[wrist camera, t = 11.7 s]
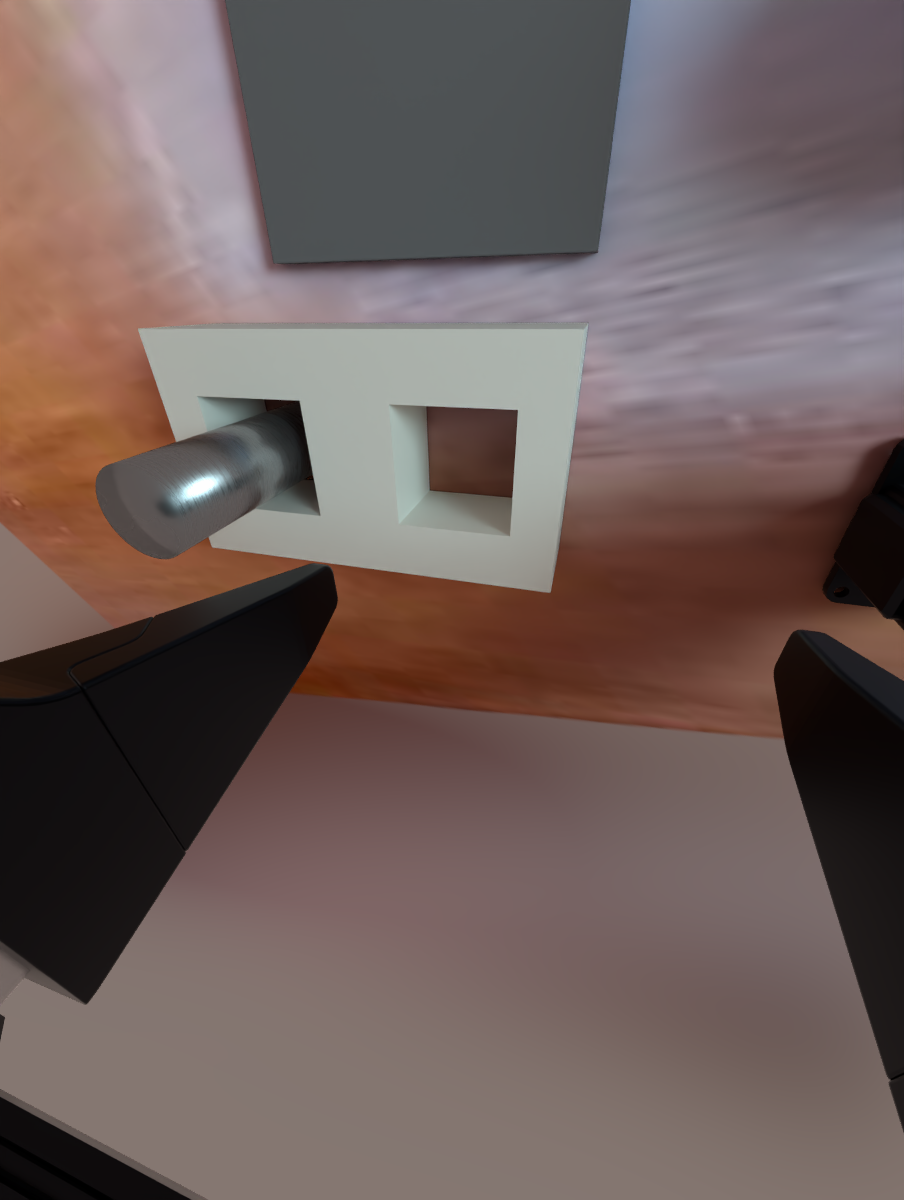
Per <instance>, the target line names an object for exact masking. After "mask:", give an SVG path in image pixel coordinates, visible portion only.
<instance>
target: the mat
mask: <svg viewBox="0 0 904 1200" xmlns="http://www.w3.org/2000/svg"><path fill="white" fill-rule="evenodd" d="M225 2H226V8H227V13H228V18H229V24H230V29H231V35H232V40H233V46H234V51H235V56H236V62H237V67H238V73H239V78H240V83H241V89H242V94H243V100H244V105H245V111H246V116H247V121H248V127H249V132H250V138H251V143H252V148H253V154H254V159H255V165H256V170H257V176H258V181H259V186H260V192H261V197H262V203H263V208H264V213H265V219H266V224H267V230H268V235H269V241H270V246H271V251H272V257H273V262H274V263H276V264H300V263H327V262H354V261H381V260H409V259H436V258H463V257H490V256H517V255H544V254H571V253H598V246H599V239H600V231H601V223H602V216H603V208H604V201H605V193H606V185H607V178H608V170H609V163H610V155H611V147H612V140H613V132H614V124H615V117H616V109H617V102H618V94H619V86H620V79H621V71H622V63H623V56H624V48H625V41H626V33H627V25H628V18H629V10H630V2H631V0H225Z"/></svg>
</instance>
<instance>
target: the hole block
mask: <svg viewBox="0 0 904 1200" xmlns="http://www.w3.org/2000/svg"><path fill="white" fill-rule="evenodd" d="M587 330H588V323H246V324H199V325H185V326H170V327H155V328H141V329H138V331H139V333H140V336H141V339H142V342H143V345H144V348H145V351H146V354H147V357H148V360H149V363H150V366H151V369H152V372H153V375H154V378H155V381H156V384H157V387H158V389H159V392H160V395H161V398H162V401H163V404H164V407H165V410H166V413H167V416H168V419H169V422H170V425H171V428H172V431H173V434H174V437H175V440H176V442H178V441H181V440H184V439H187V438H190V437H193V436H196V435H199V434H202V433H205V432H208V431H211V430H214V429H217V428H220V427H223V426H226V425H229V424H232V423H235V422H238V421H241V420H244V419H247V418H250V417H253V416H255V415H258V414H261V413H264V412H267V410H266V406H265V402H264V399H273V400H296V401H300V406H301V411H302V417H303V422H304V427H305V433H306V438H307V444H308V449H309V455H310V460H311V466H312V471H313V476H314V480H305V479H304V480H302V481H300V482H299V483H297V484H295V485H294V486H292V487H291V488H289V489H287V490H286V491H284V492H282V493H281V494H279V495H277V496H276V497H274V498H272V499H271V500H269V501H267V502H266V503H264V504H262V505H261V506H259V507H257V508H256V509H254V510H252V511H251V512H249V513H247V514H246V515H244V516H242V517H241V518H239V519H237V520H236V521H234V522H232V523H231V524H229V525H227V526H226V527H224V528H222V529H221V530H219V531H217V532H216V533H214V534H212V535H211V536H209V540H210V543H211V546H212V547H213V548H220V549H228V550H235V551H243V552H250V553H257V554H265V555H272V556H280V557H287V558H295V559H302V560H309V561H317V562H324V563H332V564H339V565H347V566H354V567H361V568H369V569H376V570H384V571H391V572H399V573H406V574H413V575H421V576H428V577H436V578H443V579H451V580H458V581H465V582H473V583H480V584H488V585H495V586H503V587H510V588H517V589H525V590H532V591H540V592H547V593H551V588H552V582H553V577H554V572H555V566H556V561H557V556H558V550H559V543H560V536H561V528H562V521H563V513H564V505H565V498H566V490H567V483H568V475H569V467H570V460H571V452H572V444H573V437H574V429H575V422H576V414H577V406H578V399H579V391H580V383H581V376H582V368H583V361H584V353H585V345H586V338H587ZM426 406H437V407H460V408H484V409H507V410H518V420H517V436H516V451H515V467H514V483H513V498H509V497H498V496H486V495H475V494H464V493H452V492H441V491H430V483H429V459H428V435H427V410H426Z"/></svg>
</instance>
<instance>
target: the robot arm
mask: <svg viewBox="0 0 904 1200" xmlns="http://www.w3.org/2000/svg"><path fill="white" fill-rule="evenodd" d="M834 559H835V561H836V562H835V564H834V566H833V568H832V570H831V572H830V574H829V576H828V577H827V579H826V581H825V583H824V585H823V589H822V590H823V593H824V594H825V596H826V597H827V598H828V599H829V600H830V601H832V602H836V603H844V604H852V605H860V606H869V607H875V608H876V609H877V610H878V611H879V612H880V613H881V614H882V616H883V617H885V618H886V619H893V620H895V621H896V622H897V624H898V625H899V626H900V627H901V628H902V629H903V630H904V440H903V441H901V442H900V443H899V444H897V446H896V447H895V448H894V450H893V452H892V454H891V456H890V457H889V459H888V461H887V463H886V465H885V467H884V469H883V471H882V473H881V475H880V477H879V479H878V481H877V483H876V485H875V487H874V488H873V490H872V492H871V494H870V495H868V496H867V497H865V498H864V499H863V500H862V501H861V503H860V505H859V507H858V509H857V511H856V513H855V515H854V517H853V519H852V521H851V523H850V525H849V527H848V529H847V531H846V533H845V535H844V537H843V539H842V541H841V543H840V545H839V547H838V549H837V550H836V552H835V554H834ZM839 587H845V588H844V589H843V590H842V591H840V592H834V591H835V590H836V589H837V588H839ZM337 601H338V597H337V591H336V585H335V580H334V574H333V570H332V568H331V567H330V566H328V565H323V564H316V563H312V564H308V565H305V566H302V567H299V568H296V569H293V570H290V571H287V572H284V573H281V574H278V575H275V576H272V577H269V578H266V579H263V580H260V581H257V582H254V583H251V584H248V585H245V586H242V587H239V588H236V589H233V590H230V591H227V592H224V593H221V594H218V595H215V596H212V597H209V598H206V599H203V600H200V601H197V602H194V603H191V604H188V605H185V606H182V607H179V608H176V609H173V610H170V611H167V612H164V613H161V614H158V615H156V616H155V617H154V618H153V617H149V618H146V619H143V620H140V621H137V622H134V623H131V624H128V625H125V626H122V627H119V628H115V629H112V630H109V631H106V632H103V633H100V634H96V635H93V636H89V637H86V638H83V639H79V640H76V641H73V642H70V643H66V644H62V645H59V646H55V647H52V648H48V649H45V650H41V651H38V652H35V653H31V654H27V655H24V656H20V657H17V658H13V659H10V660H7V661H3V662H0V1006H1V1005H2V1003H3V1002H4V1001H5V1000H6V999H7V998H8V996H9V995H10V994H11V993H12V992H13V991H14V989H15V988H16V987H17V986H18V985H19V984H20V982H21V981H22V980H23V979H24V978H26V979H29V980H31V981H33V982H35V983H38V984H40V985H42V986H44V987H47V988H49V989H51V990H53V991H55V992H58V993H60V994H62V995H65V996H67V997H69V998H71V999H73V1000H76V1001H78V1002H80V1003H82V1004H85V1005H86V1004H87V1003H88V1002H89V1001H90V1000H91V998H92V997H93V996H94V994H95V993H96V992H97V990H98V989H99V987H100V986H101V984H102V983H103V981H104V980H105V978H106V977H107V975H108V973H109V972H110V970H111V969H112V967H113V966H114V964H115V963H116V961H117V959H118V958H119V956H120V955H121V953H122V952H123V950H124V949H125V947H126V945H127V944H128V942H129V941H130V939H131V938H132V936H133V935H134V933H135V931H136V930H137V928H138V927H139V925H140V924H141V922H142V921H143V919H144V917H145V916H146V914H147V913H148V911H149V910H150V908H151V907H152V905H153V904H154V902H155V900H156V899H157V897H158V896H159V894H160V893H161V891H162V889H163V888H164V886H165V885H166V883H167V882H168V880H169V879H170V877H171V876H172V874H173V873H174V871H175V869H176V868H177V866H178V865H179V863H180V862H181V860H182V859H183V857H184V855H185V854H186V852H185V851H187V850H188V849H189V847H190V846H191V844H192V843H193V841H194V839H195V838H196V836H197V835H198V833H199V832H200V830H201V829H202V827H203V825H204V824H205V822H206V821H207V819H208V817H209V816H210V815H211V813H212V812H213V810H214V808H215V807H216V805H217V804H218V802H219V801H220V799H221V797H222V796H223V794H224V793H225V791H226V790H227V788H228V786H229V785H230V784H231V782H232V780H233V779H234V777H235V775H236V774H237V772H238V771H239V770H240V768H241V767H242V765H243V763H244V762H245V760H246V759H247V757H248V756H249V754H250V753H251V751H252V749H253V748H254V746H255V745H256V743H257V742H258V740H259V739H260V737H261V735H262V734H263V732H264V731H265V729H266V728H267V726H268V725H269V723H270V722H271V720H272V718H273V717H274V715H275V714H276V712H277V711H278V709H279V708H280V706H281V704H282V703H283V701H284V700H285V698H286V697H287V695H288V694H289V692H290V690H291V689H292V687H293V686H294V684H295V683H296V681H297V680H298V678H299V677H300V675H301V673H302V672H303V670H304V669H305V667H306V665H307V664H308V662H309V660H310V659H311V657H312V655H313V653H314V651H315V649H316V647H317V645H318V643H319V641H320V639H321V637H322V635H323V633H324V631H325V629H326V627H327V625H328V623H329V621H330V619H331V617H332V615H333V613H334V611H335V609H336V606H337ZM774 682H775V688H776V694H777V700H778V706H779V712H780V717H781V723H782V729H783V735H784V741H785V745H786V750H787V754H788V758H789V761H790V765H791V768H792V772H793V775H794V778H795V781H796V784H797V788H798V791H799V794H800V797H801V801H802V804H803V807H804V810H805V814H806V817H807V820H808V823H809V827H810V830H811V833H812V836H813V839H814V842H815V846H816V849H817V852H818V855H819V859H820V862H821V865H822V869H823V872H824V875H825V878H826V881H827V885H828V888H829V891H830V894H831V898H832V901H833V904H834V907H835V911H836V914H837V917H838V920H839V923H840V926H841V930H842V933H843V936H844V940H845V943H846V946H847V949H848V953H849V956H850V959H851V962H852V965H853V969H854V972H855V975H856V978H857V982H858V985H859V988H860V991H861V994H862V997H863V1001H864V1004H865V1007H866V1010H867V1014H868V1017H869V1020H870V1024H871V1027H872V1030H873V1033H874V1037H875V1040H876V1043H877V1046H878V1049H879V1053H880V1056H881V1059H882V1062H883V1066H884V1069H885V1072H886V1075H887V1077H888V1078H889V1079H890V1081H889V1087H890V1090H891V1093H892V1096H893V1100H894V1103H895V1106H896V1109H897V1113H898V1116H899V1119H900V1122H901V1125H902V1128H903V1132H904V681H902V680H901V679H899V678H898V677H896V676H894V675H893V674H891V673H889V672H888V671H886V670H884V669H883V668H881V667H879V666H878V665H876V664H875V663H873V662H871V661H870V660H868V659H866V658H865V657H863V656H861V655H860V654H858V653H856V652H855V651H853V650H852V649H850V648H848V647H847V646H845V645H843V644H842V643H840V642H838V641H837V640H835V639H833V638H832V637H830V636H829V635H827V634H825V633H821V632H815V631H808V630H796V631H794V632H793V633H792V634H791V635H790V637H789V639H788V641H787V643H786V645H785V647H784V649H783V651H782V653H781V655H780V657H779V659H778V661H777V663H776V665H775V668H774ZM4 1019H5V1017H4V1016H2V1015H0V1039H1V1034H2V1029H3V1024H4ZM0 1200H207V1199H206V1198H204V1197H202V1196H200V1195H198V1194H196V1193H194V1192H192V1191H191V1190H189V1189H187V1188H185V1187H183V1186H181V1185H179V1184H178V1183H176V1182H174V1181H172V1180H170V1179H168V1178H166V1177H164V1176H162V1175H161V1174H159V1173H157V1172H155V1171H153V1170H151V1169H149V1168H147V1167H145V1166H144V1165H142V1164H140V1163H138V1162H136V1161H134V1160H133V1159H131V1158H129V1157H127V1156H125V1155H123V1154H121V1153H119V1152H117V1151H116V1150H114V1149H112V1148H110V1147H108V1146H106V1145H104V1144H102V1143H101V1142H99V1141H97V1140H95V1139H93V1138H91V1137H89V1136H87V1135H86V1134H83V1133H82V1132H80V1131H78V1130H76V1129H74V1128H72V1127H71V1126H69V1125H67V1124H65V1123H63V1122H61V1121H59V1120H57V1119H55V1118H54V1117H52V1116H50V1115H48V1114H46V1113H44V1112H42V1111H40V1110H39V1109H37V1108H35V1107H33V1106H31V1105H29V1104H27V1103H25V1102H23V1101H22V1100H20V1099H18V1098H16V1097H14V1096H12V1095H11V1094H8V1093H7V1092H5V1091H3V1090H1V1089H0Z"/></svg>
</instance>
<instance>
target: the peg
mask: <svg viewBox="0 0 904 1200" xmlns="http://www.w3.org/2000/svg"><path fill="white" fill-rule="evenodd" d="M312 474H313V471H312V466H311V460H310V455H309V449H308V444H307V438H306V433H305V427H304V422H303V417H302V411H301V406H300V401H297V402H294V403H291V404H288V405H285V406H282V407H279V408H276V409H273V410H270V411H267V412H264V413H261V414H258V415H255V416H253V417H250V418H247V419H244V420H241V421H238V422H235V423H232V424H229V425H226V426H223V427H220V428H217V429H214V430H211V431H208V432H205V433H202V434H199V435H196V436H193V437H190V438H187V439H184V440H181V441H178V442H175V443H172V444H169V445H166V446H163V447H160V448H157V449H154V450H151V451H148V452H145V453H142V454H139V455H136V456H133V457H130V458H127V459H124V460H121V461H118V462H115V463H112V464H109V465H107V466H105V467H104V468H102V469H101V471H100V472H99V474H98V476H97V479H96V495H97V499H98V502H99V505H100V507H101V510H102V512H103V514H104V516H105V517H106V519H107V520H108V522H109V523H110V525H111V526H112V527H113V529H114V530H115V531H116V532H117V533H118V534H119V535H120V536H121V537H122V538H123V539H124V540H125V541H126V542H127V543H128V544H130V545H131V546H132V547H134V548H135V549H137V550H138V551H140V552H142V553H144V554H146V555H148V556H151V557H154V558H158V559H170V558H174V557H176V556H178V555H179V554H181V553H183V552H184V551H186V550H188V549H189V548H191V547H192V546H194V545H196V544H197V543H199V542H201V541H202V540H204V539H206V538H207V537H209V536H211V535H212V534H214V533H216V532H217V531H219V530H221V529H222V528H224V527H226V526H227V525H229V524H231V523H232V522H234V521H236V520H237V519H239V518H241V517H242V516H244V515H246V514H247V513H249V512H251V511H252V510H254V509H256V508H257V507H259V506H261V505H262V504H264V503H266V502H267V501H269V500H271V499H272V498H274V497H276V496H277V495H279V494H281V493H282V492H284V491H286V490H287V489H289V488H291V487H292V486H294V485H295V484H297V483H299V482H300V481H302V480H304V479H305V478H307V477H309V476H310V475H312Z"/></svg>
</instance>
